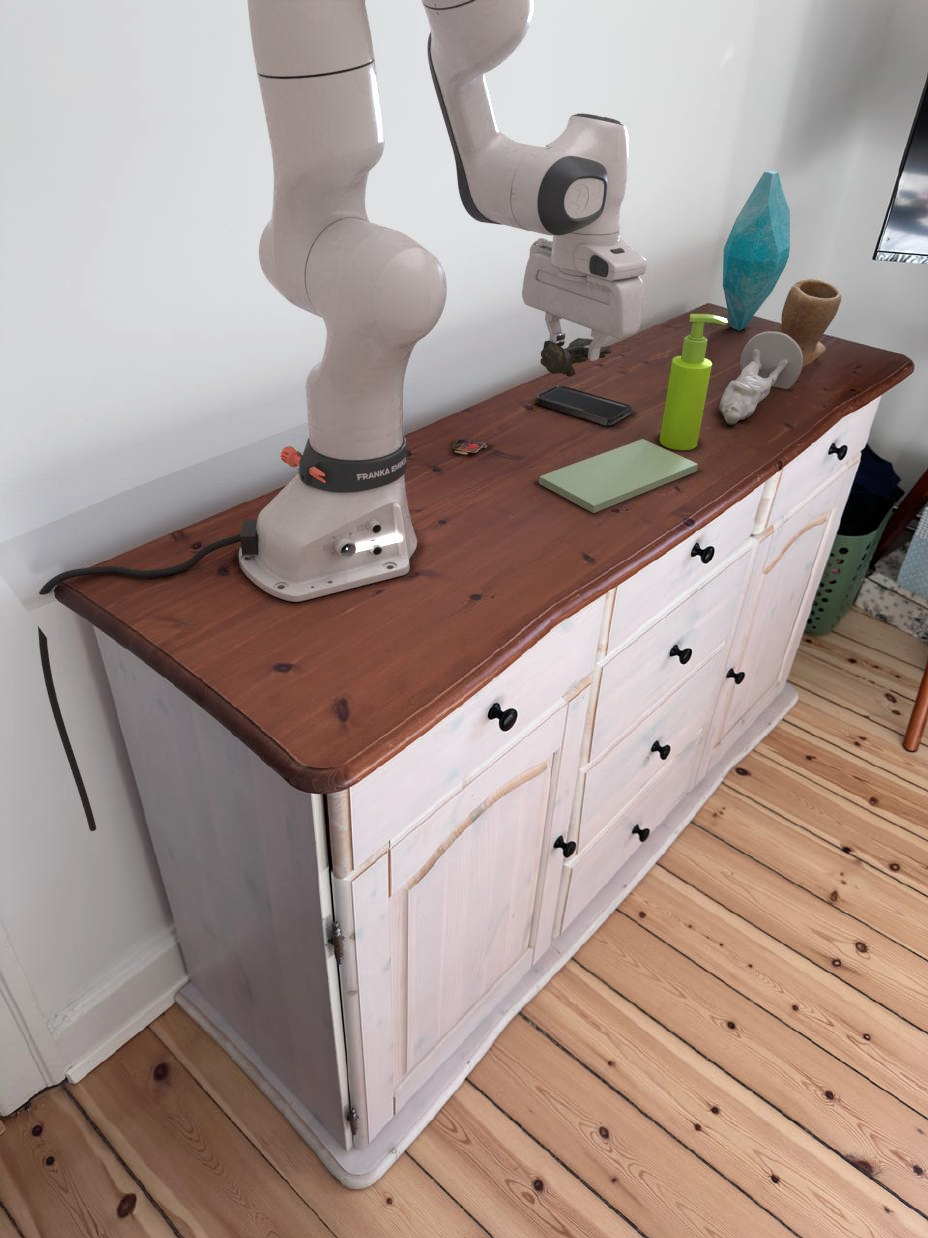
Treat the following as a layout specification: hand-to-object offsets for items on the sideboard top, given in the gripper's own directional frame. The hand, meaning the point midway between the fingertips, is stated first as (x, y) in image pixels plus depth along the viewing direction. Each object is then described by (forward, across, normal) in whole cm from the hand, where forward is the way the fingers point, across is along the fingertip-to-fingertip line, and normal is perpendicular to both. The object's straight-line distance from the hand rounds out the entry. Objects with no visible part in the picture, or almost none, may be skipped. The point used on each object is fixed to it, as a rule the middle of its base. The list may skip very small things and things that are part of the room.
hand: (573, 352), depth 132 cm
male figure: (+15, +4, +41) cm, 44 cm away
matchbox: (+16, -10, -10) cm, 22 cm away
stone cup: (+15, -4, +67) cm, 68 cm away
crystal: (+15, -23, +75) cm, 79 cm away
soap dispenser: (+16, +8, +19) cm, 26 cm away
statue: (+3, 0, 0) cm, 3 cm away
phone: (+16, -11, +16) cm, 25 cm away
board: (+16, +10, +2) cm, 19 cm away
